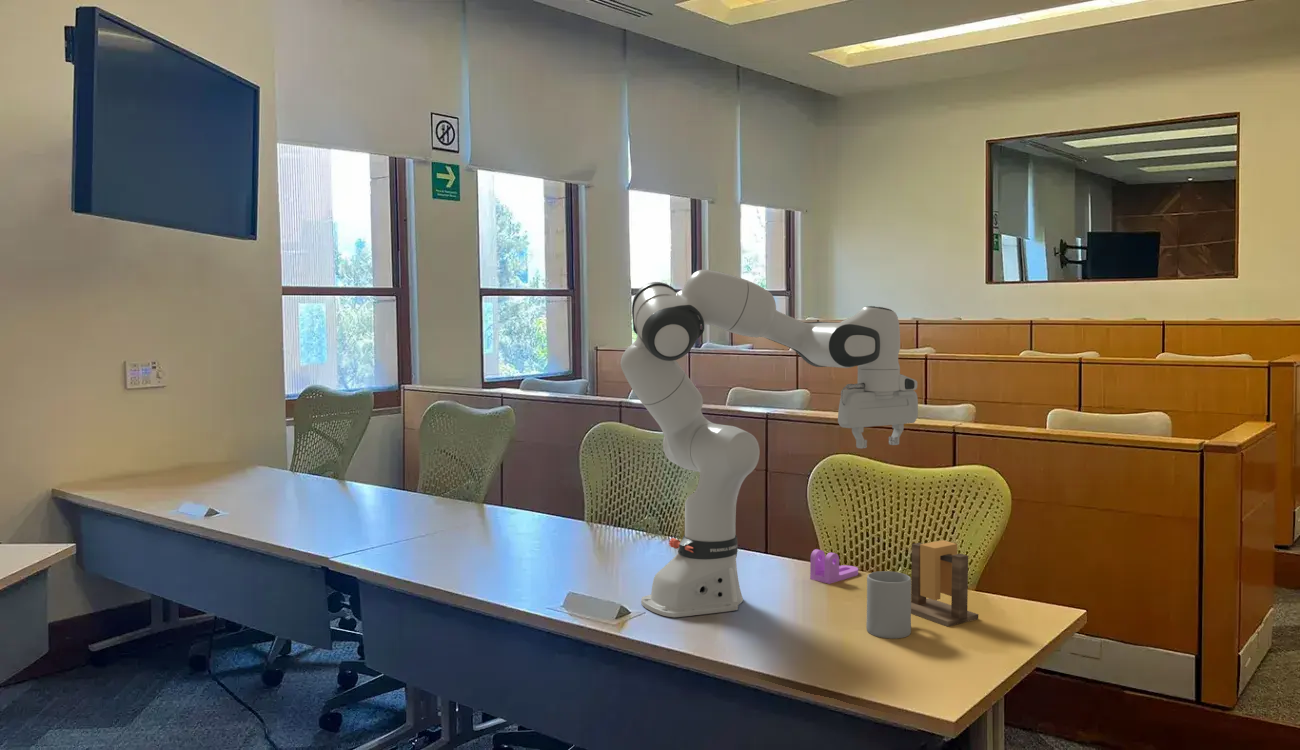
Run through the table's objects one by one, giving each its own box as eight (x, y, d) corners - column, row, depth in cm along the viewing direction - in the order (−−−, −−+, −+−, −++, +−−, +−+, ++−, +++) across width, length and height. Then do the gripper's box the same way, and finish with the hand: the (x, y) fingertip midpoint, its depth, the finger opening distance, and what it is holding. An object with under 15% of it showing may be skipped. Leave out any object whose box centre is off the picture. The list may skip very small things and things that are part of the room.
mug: (901, 641, 180) (902, 585, 180) (859, 633, 185) (860, 578, 185) (923, 624, 190) (923, 571, 190) (882, 617, 195) (883, 565, 194)
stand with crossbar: (947, 626, 189) (948, 559, 188) (899, 609, 200) (900, 546, 199) (978, 619, 194) (979, 553, 193) (930, 602, 205) (930, 540, 204)
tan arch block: (934, 600, 193) (934, 548, 193) (920, 595, 197) (920, 544, 196) (957, 595, 196) (957, 543, 196) (942, 590, 200) (942, 540, 199)
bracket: (829, 584, 220) (829, 554, 219) (810, 579, 224) (810, 550, 223) (862, 574, 228) (863, 545, 228) (844, 569, 232) (844, 541, 232)
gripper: (852, 385, 195) (851, 451, 196) (923, 381, 205) (922, 444, 206) (831, 383, 200) (831, 448, 201) (901, 379, 210) (901, 441, 211)
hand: (877, 446), depth 203 cm, fingers open, 8 cm apart
